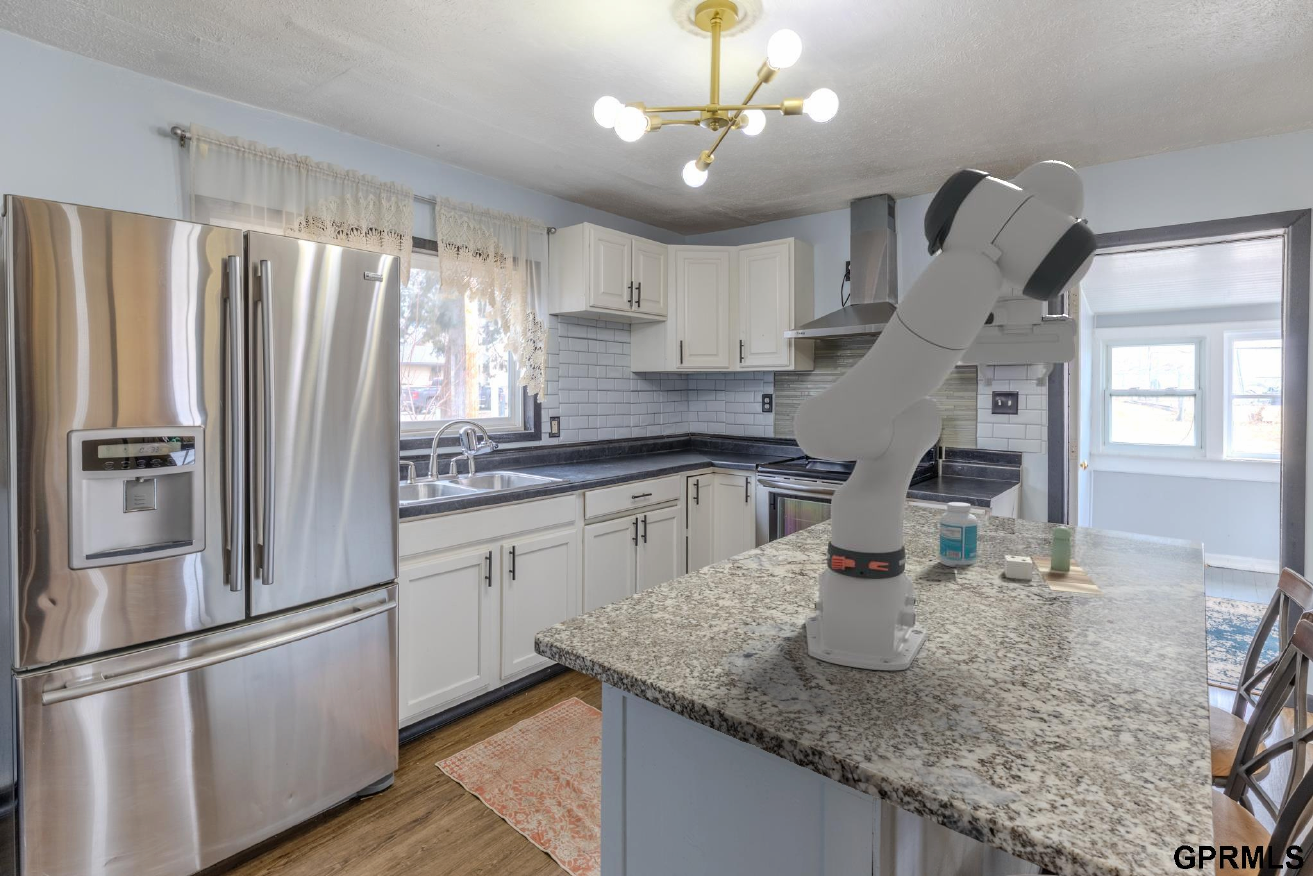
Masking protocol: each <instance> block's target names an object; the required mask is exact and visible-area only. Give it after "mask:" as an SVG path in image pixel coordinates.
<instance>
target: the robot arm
mask: <svg viewBox="0 0 1313 876" xmlns="http://www.w3.org/2000/svg"><path fill="white" fill-rule="evenodd" d="M1084 188H1085V187H1084V184H1083V180H1082V177H1081V175H1080V174H1079V172H1078V171H1076V169H1075V168H1074V167H1072V166H1070V165H1069V164H1066V163H1065V162H1063V161H1057V160H1054V161H1053V160H1045V161H1040V162H1037V163H1034V164H1032V165H1030V166H1028V167H1025V168H1024V170H1022V171H1021V172H1019V173H1018V174H1017V175H1016V176H1015V178H1014V179H1012V181H1011V183H1009V182H1007V181H1004V180H1001V179H998V178H996V177H995V178H994V177H991V173H988V172H986V171H985V172H984V171H981V170H978V169H971V168H964V169H962V170H959V171H956V172H955V173H953V174H952V175H951V176H949V178H948V179H947V180H946V181H945V182H944V183H943V184H942V185H940V187H938V189H937V190H936V191H935V193H934V194H933V196H932V198H931V200H930V201H929V204H928V208H927V210H926V212H925V215H924V219H923V228H924V236H925V238H926V240H927V243H928V246H927V253H928V254H929V256H930V257H933V256H934V255H935V254H937V252H938V251H941V252H940V253H939V254H937V256H935V257H934V259H932V260H931V262H930V263H929V264H928V265H927V266H926V267H925V268H924V270H923V271H922V272H921V273H920V274H919V276H918V277H917V278H916V280H915V281H914V282H913V283H912V285H911V286H910V288H909V289H908V290H907V292H906V294H905V295H904V296H903V297H902V300H901V301H900V302H899V304H898V306H897V308H896V309H895V311H894V313H893V314H892V316H891V317H890V319H889V320H888V322H887V324H886V325H885V327H884V329H883V330H882V332H881V333H880V335H879V336H878V338H877V339H876V341H875V342H874V344H873V346H872V347H870V349H869V351H868V352H867V353H866V354H865V355H864V356H863V357H862V358H861V359H860V360H859V361H858V362H857V363H856V364H855V365H854V366H853V367H852V368H850V370H848V371H846V373H845V374H844V375H842V376H841V377H840V378H839V379H837V380H836V381H835V382H834V383H832V384H831V385H829V386H828V387H826V388H824V389H822V390H820V392H818V393H815V394H813V395H810V396H809V397H806V398H805V399H804V400H803V401H802V402H801V403H800V404H799V406H798V408H797V410H796V412H795V415H794V418H793V433H794V439H795V440H796V443H797V445H798V446H799V448H800V449H801V451H802V452H803V453H804V454H805V455H806V456H809V457H811V458H815V459H819V460H824V461H825V460H826V461H829V462H831V461H832V462H850V461H851V462H852V461H856V464H855V466H854V468H853V471H852V473H851V474H850V475H849V477H848V479H847V480H845V482H843V484H841V485H840V486H839V487H837V489H836V490H835V491H834V493H833V495H832V497H831V502H830V503H831V505H830V507H831V509H830V518H831V519H830V540H829V541H828V544H827V549H826V565H827V567H826V568H825V570H823V571H821V572H820V573H819V575H818V576H819V577H818V578H819V579H818V580H819V581H818V583H819V584H818V601H815V603H814V609H815V611H818V613H810V614H807V615H806V616H805V621H804V622H805V631H806V632H805V633H806V643H807V652H808V655H809V656H810V657H812V658H815V659H818V660H820V661H824V662H827V663H831V664H834V665H835V664H836V665H840V666H846V667H852V668H858V669H859V668H860V669H866V670H874V671H875V670H877V671H902V670H903V671H905V670H907V669H909V668H910V666H911V664H912V663H913V661H914V660H915V658H916V656H917V655H918V653H919V651H920V650H921V647H922V646H923V645H924V642H925V641H926V639H928V638H927V637H928V635H927V630H926V629H925V628H923V627H921V626H918V625H916V618H917V617H916V616H917V615H916V612H915V606H916V601H917V599H916V596H915V583H914V582H913V581H912V580H911V579H910V578H909V577H908V576H907V575H906V574H905V571H906V561H907V556H906V548H905V545H903V537H904V535H903V534H904V533H903V532H904V519H905V518H904V517H905V503H906V499H907V493H908V490H909V488H910V484H911V480H912V478H913V476H914V474H915V471H916V469H917V467H918V466H919V464H920V462H921V460H922V458H923V457H924V456H925V455H926V454H927V452H928V451H929V450H930V449H931V448H933V447H934V446H935V445H936V444H937V442H938V440H939V439H940V436H941V434H942V429H943V418H942V413H941V409H940V408H939V406H938V405H937V403H936V402H935V401H934V400H933V398H931V397H930V395H932V394H934V393H935V392H936V391H937V390H939V388H940V387H941V386H943V384H944V383H945V381H946V380H947V379H948V377H949V376H950V374H951V373H952V372H953V370H954V369H955V367H956V366H957V364H958V363H959V362H960V363H961V364H962V365H977V371H978V372H979V374H980V376H981V378H982V379H983V383H982V384H983V385H982V387H983V388H993V383H992V382H993V378H992V377H988V376H987V374H986V372H985V370H987V365H989V364H990V365H999V364H1000V365H1003V364H1005V365H1006V364H1011V365H1012V364H1043V366H1042V367H1043V369H1044V370H1045V371H1043V373H1042V375H1041V377H1036V379H1035V381H1036V383H1035V386H1036V387H1046V386H1047V378H1048V377H1049V375H1050V374H1051V373H1052V371H1053V370H1054V364H1057V363H1058V364H1060V363H1061V364H1064V363H1065V364H1066V363H1071V362H1072V361H1073V360H1074V359H1075V357H1076V343H1075V337H1076V335H1077V331H1078V322H1077V320H1076V319H1074V317H1071V316H1069V315H1067V314H1061V315H1043V303H1044V302H1049V301H1053V300H1056V299H1058V298H1059V297H1060V296H1061V295H1064V294H1065V293H1067V292H1069V291H1070V290H1072V289H1073V288H1074V287H1076V286H1077V285H1078V284H1079V283H1080V282H1081V281H1082V280H1083V279H1084V277H1086V275H1087V273H1089V270H1090V269H1091V266H1092V264H1093V261H1094V258H1095V253H1096V251H1097V249H1098V243H1097V238H1096V234H1095V233H1094V232H1093V231H1092V229H1091V228H1090V227H1089V226H1088V223H1089V221H1088V219H1087V217H1084V218H1082V214H1083V212H1084V211H1083V210H1084V205H1085V189H1084ZM1081 218H1082V219H1081Z"/></svg>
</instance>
